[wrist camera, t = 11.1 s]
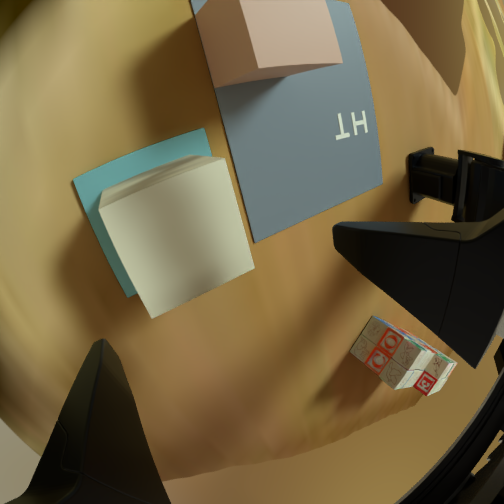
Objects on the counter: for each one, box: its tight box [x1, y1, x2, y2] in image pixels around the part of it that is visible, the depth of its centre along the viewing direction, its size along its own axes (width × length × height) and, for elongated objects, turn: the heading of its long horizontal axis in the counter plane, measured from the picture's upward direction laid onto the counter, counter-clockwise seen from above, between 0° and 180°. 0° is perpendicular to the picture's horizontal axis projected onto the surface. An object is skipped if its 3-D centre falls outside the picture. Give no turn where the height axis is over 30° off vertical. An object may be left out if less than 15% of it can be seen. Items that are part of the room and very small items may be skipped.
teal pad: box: [73, 128, 212, 298], centre depth 18 cm, size 9×9×1 cm
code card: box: [190, 0, 383, 243], centre depth 20 cm, size 16×20×1 cm
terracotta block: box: [195, 0, 343, 88], centre depth 13 cm, size 6×6×6 cm
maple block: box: [98, 155, 255, 318], centre depth 15 cm, size 6×6×6 cm
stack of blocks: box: [350, 316, 457, 396], centre depth 37 cm, size 21×6×12 cm, turn 56°
